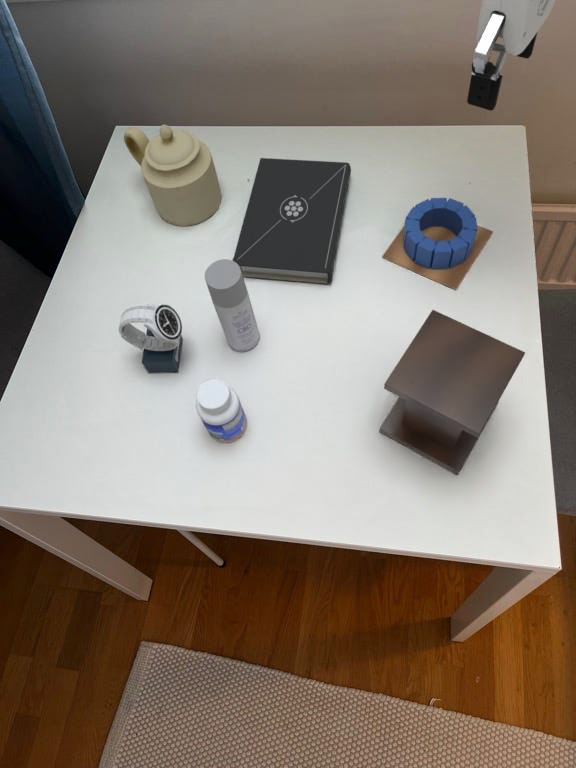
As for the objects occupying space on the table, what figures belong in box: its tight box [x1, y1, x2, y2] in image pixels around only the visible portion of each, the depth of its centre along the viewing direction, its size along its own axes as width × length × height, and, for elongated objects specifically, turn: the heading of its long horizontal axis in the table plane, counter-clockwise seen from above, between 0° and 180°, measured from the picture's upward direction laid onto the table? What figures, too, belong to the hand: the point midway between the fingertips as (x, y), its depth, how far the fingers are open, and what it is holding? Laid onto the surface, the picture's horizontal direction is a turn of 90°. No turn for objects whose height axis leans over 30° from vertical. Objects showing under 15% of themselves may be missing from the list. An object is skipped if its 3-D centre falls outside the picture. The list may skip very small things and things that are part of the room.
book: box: [232, 157, 352, 286], centre depth 90 cm, size 22×15×3 cm
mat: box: [381, 224, 494, 291], centre depth 86 cm, size 12×12×1 cm
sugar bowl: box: [123, 124, 222, 227], centre depth 89 cm, size 15×11×15 cm
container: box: [204, 259, 261, 353], centre depth 76 cm, size 5×5×15 cm
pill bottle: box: [195, 378, 248, 443], centre depth 73 cm, size 5×5×10 cm
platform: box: [379, 309, 526, 476], centre depth 68 cm, size 11×11×14 cm
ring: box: [403, 197, 478, 269], centre depth 85 cm, size 10×10×4 cm
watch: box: [118, 303, 184, 374], centre depth 78 cm, size 6×8×11 cm
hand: (499, 79), depth 67 cm, fingers open, 9 cm apart
